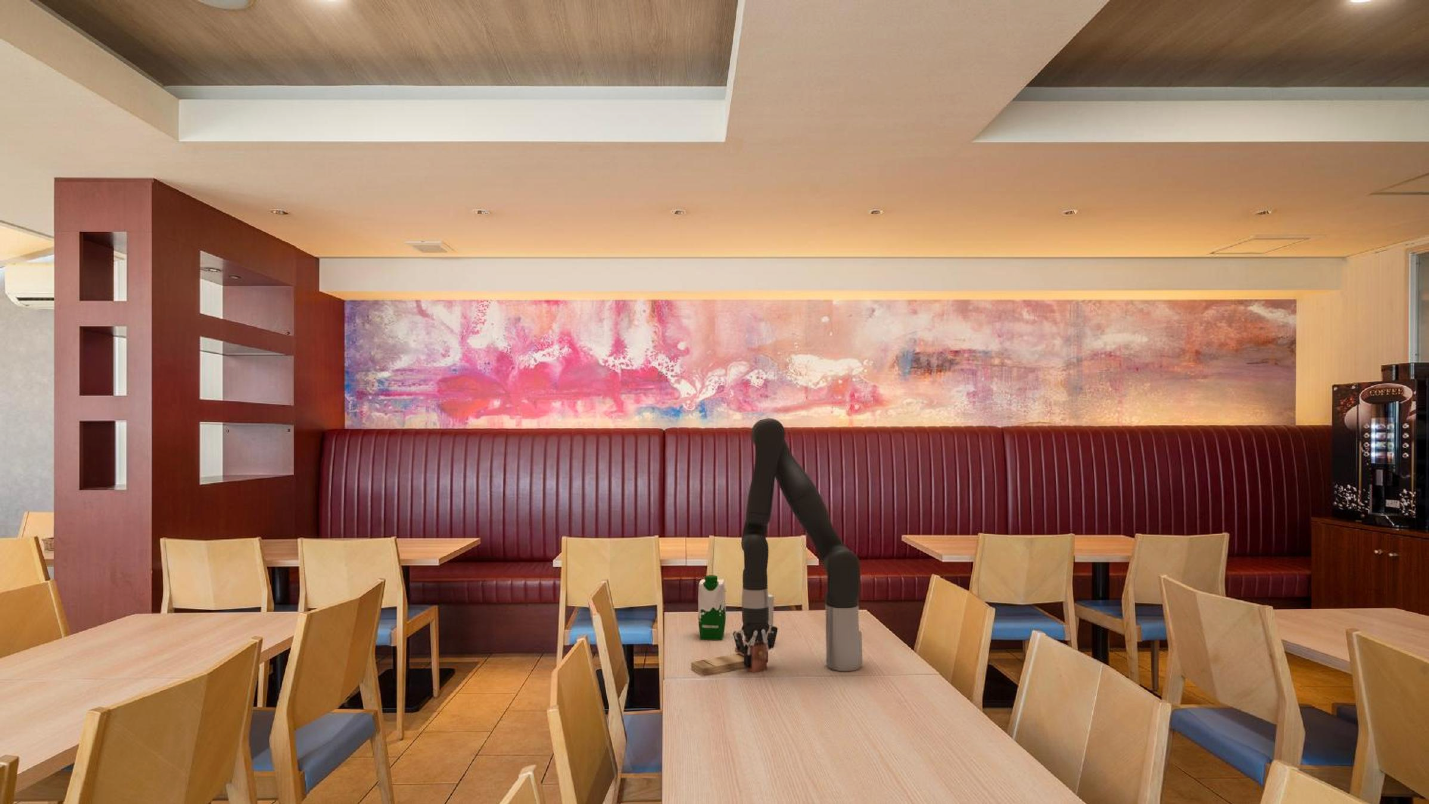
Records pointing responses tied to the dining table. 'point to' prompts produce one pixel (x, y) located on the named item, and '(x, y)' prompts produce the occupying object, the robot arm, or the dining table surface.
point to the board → (718, 664)
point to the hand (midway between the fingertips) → (756, 665)
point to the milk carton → (711, 608)
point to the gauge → (757, 657)
